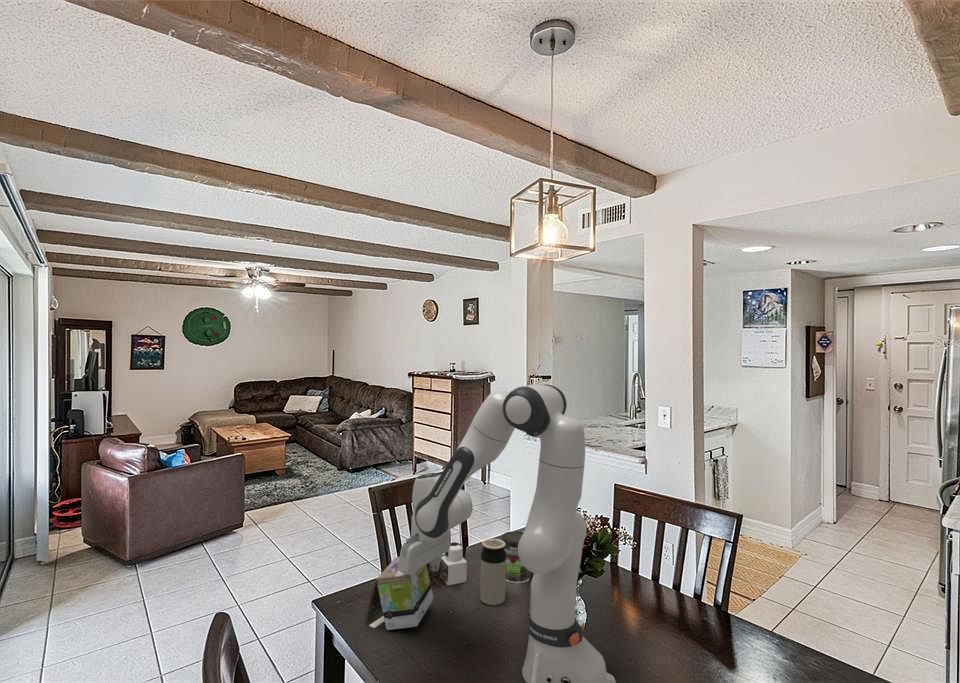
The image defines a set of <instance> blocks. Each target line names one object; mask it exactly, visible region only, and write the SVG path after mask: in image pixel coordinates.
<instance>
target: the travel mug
mask: <svg viewBox="0 0 960 683" xmlns="http://www.w3.org/2000/svg"><path fill="white" fill-rule="evenodd" d="M481 545H482V551H481V552H480V585H479V588H480V593H479V599H480V601H481V602H482V603H483V604H486V605H490V606H499V605H501V604H503V603H504V602H505V601H506V581H505V580H506V552H505V550H504V547H505V545H506V544H505V542H504V541H502V539H499V538H488V539H484V540H483V541H482V543H481Z"/></svg>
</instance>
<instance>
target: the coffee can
mask: <svg viewBox="0 0 960 683" xmlns="http://www.w3.org/2000/svg"><path fill="white" fill-rule="evenodd" d="M523 533H524V531H523V532H522V531H515V530H513V531H507V532H504V533H503V534H502V535H501V540H502V541H504V542H505V544H506V545H505V547H504V550H505V552H506V580H505V582H507V583H510V584H517V585H518V584H525V583H527V582H529V581H530V579H531V576H530V575H531V572H530V571H529V570H527V569H526V568H525V567H524V565H523V564H522V562H521V561H520V558H519V555H518V543H519V541H520V539H521V537H522V535H523Z"/></svg>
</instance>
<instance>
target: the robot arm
mask: <svg viewBox="0 0 960 683" xmlns="http://www.w3.org/2000/svg"><path fill="white" fill-rule="evenodd" d="M567 403H568V402H567V398H566V396H565V394H564V393H563V391H562V390H561V389H559V388H558V387H557V386H555V385H553V384H548V383H547V384H546V383H545V384H544V383H543V384H538V383H537V384H536V383H535V384H528V385H525V386H519V387H516V388H513V389H512V390H511V391H510V392H507V391H503V390H495V391H492V392H491V393H490V394H488V396H486V398H485V399H484V401H483V402H482V403H481V405H480V407H479V409H478V410H477V412H476V413H475V415H474V417H473V419H472V421H471V423H470V425H469V428H468V429H467V431H466V433H465V434H464V437H463V439H462V440H461V442H460V443H459V445H458V447H457V448H456V449H455V451H454V453H453V454H452V456H451V457H450V459H448V460H449V461H448V462H447V464H446V465H445V467H444V468H443V470H442V472H441V473H438V472H429V473H424V474H421V475H418V476H417V477H416V478H415V480H414V483H413V485H412V486H413V487H412V495H411V496H412V497H411V498H412V499H411V506H412V510H413V511H412V512H413V513H412V515H411V525H410V526H411V528H410V529H411V530H410V531H411V532H410V536H411V537H408V538H406V539H405V541H404V543H403V544H402V545H401V549H400V551H399V552H400V553H399V557H400V559H399V570H400V572H402V573H404V574H408V575H409V576H410V578H411V584H412V585H416V584H418V583H419V577H417V576H416V573H417V570H418V569H420V568H421V567H423V566H425V565H426V566H427V565H428V564H430V563H431V562H432V564H431V565H430V568H431V569H430V571H431V572H433V573H436V572H438V571H439V570H440V569H439V567H440V565H441V558H442V555H443V556H444V555H445V553H446V552H448V551H449V549H450V546H451V543H452V531H451V529H454V528H455V527H457V526H458V525H460V524H463V522H465V521H467V520H468V519H470V517H471V516H472V513H473V502H472V498H471V496H470V495H469V493H468V492H467V491H465V490H464V489H462V487H463V486H464V484H465V483H466V481H467V480H468V479H469V478H471V477H472V475H474V474H475V473H476V472H478V471H479V470H481V469H483V468H485V467H486V466H487V465H490V464H491V463H493V462H495V461H496V460H497V459H498V458H499V456H500V455H501V454H502V452H503V451H504V450H505V448H506V447H507V445H508V443H509V441H510V439H511V438H512V435H513V433H514V431H515V429H517V430H519V431H521V432H523V433H526V435H529V436H530V437H538V438H539V440H540V441H539V442H540V449H539V450H540V451H539V459H538V469H537V477H536V478H537V480H536V487H535V492H534V496H533V500H532V504H531V507H530V509H529V510H530V511H529V513H528V517H527V519H526V520H527V521H526V523H525V527H524V531H523V535H522V537H521V539H520V541H519V543H518V555H519V558H520V561H521V562H522V564H523V565H524V567H525V568H526V569H527V570H529V571H530V573H532V574H533V575H532V578H531V583H530V598H529V600H530V602H529V603H530V604H529V608H530V609H529V613H528V618H527V619H528V620H527V635H528V641H527V642H528V643H527V647H526V648H527V649H526V655H525V659H524V662H523V666H522V669H521V673H522V677H523V679H524V681H525V683H617V681H616V679H615V677H614V676H613V675H612V674H611V673H609V672H607V667H606V661H605V659H604V656H603V655H602V654H601V653H600V652H599V651H598V650H597V649H596V648H595V647H594V646H593V645H592V644H591V643H590V642H589V641H588V640H587V639H586V638H585V636H583V631H584V629H585V622H583V623H582V624H580V623H579V622H578V620H577V617H576V603H577V602H576V596H577V595H576V594H577V584H578V578H579V573H580V568H581V563H582V562H581V561H582V555H583V548H584V542H585V539H586V536H587V532H588V530H587V529H588V528H587V527H588V526H587V522H586V520H585V518H584V517H583V515H582V514H581V513H580V512H579V511H577V508H578V506H579V503H580V501H581V498H582V495H583V494H582V492H583V482H584V471H585V464H586V438H585V437H586V436H585V428H584V427H583V426H584V425H583V424H582V423H581V422H580V421H579V420H577V419H576V418H575V417H571V416H567V415H565V414H566V411H567V408H568V407H567V406H568V404H567Z"/></svg>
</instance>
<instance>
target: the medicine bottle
mask: <svg viewBox="0 0 960 683" xmlns="http://www.w3.org/2000/svg"><path fill="white" fill-rule="evenodd" d="M463 550H464V548H463V545H462V544H461V543H459V542H456V541H455V542H451V546H450V549H449V551H448V552H446V553H445V554H444V555H443V556H442V558H441V561H440V569H439V570H440V571H439V572H440V578H441V580H443V582H444V583H445V584H446V586H452V585H458V584H462V583H467V577H468V576H467V573H468V560H466V559H465V558H464V557H463V555H464V554H463V552H464V551H463Z"/></svg>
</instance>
